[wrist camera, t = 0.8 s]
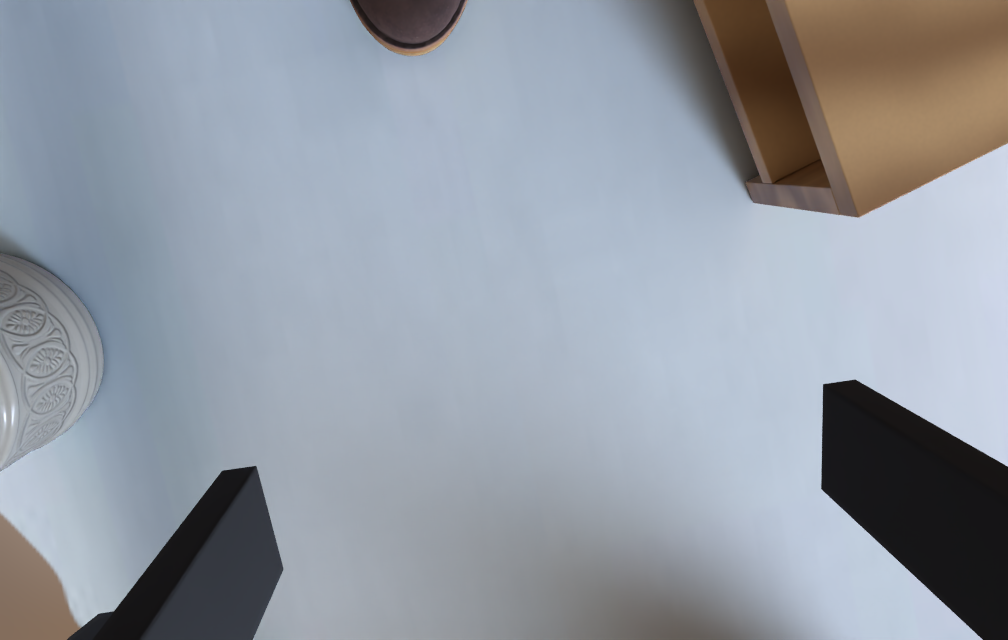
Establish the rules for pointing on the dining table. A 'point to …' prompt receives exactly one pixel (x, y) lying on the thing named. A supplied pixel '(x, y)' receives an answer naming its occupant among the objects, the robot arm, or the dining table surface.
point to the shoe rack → (860, 93)
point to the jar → (42, 358)
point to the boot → (409, 22)
